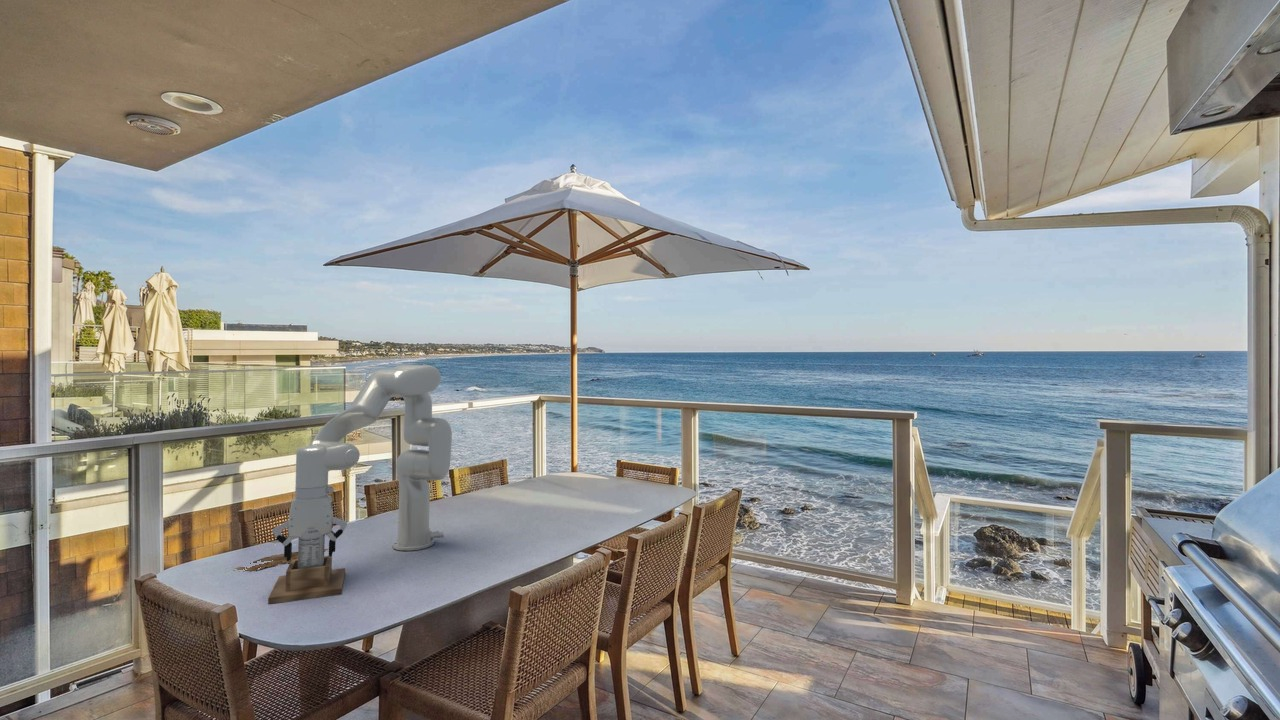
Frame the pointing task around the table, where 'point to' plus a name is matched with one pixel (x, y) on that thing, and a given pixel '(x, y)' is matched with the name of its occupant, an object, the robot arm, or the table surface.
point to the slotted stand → (308, 582)
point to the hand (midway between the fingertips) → (310, 557)
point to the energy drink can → (311, 549)
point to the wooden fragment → (276, 560)
